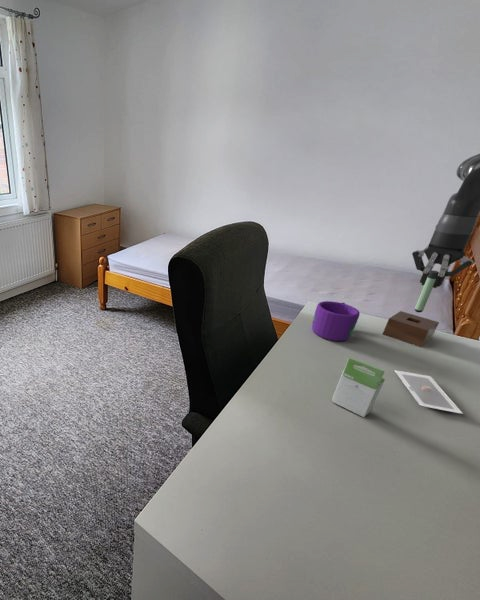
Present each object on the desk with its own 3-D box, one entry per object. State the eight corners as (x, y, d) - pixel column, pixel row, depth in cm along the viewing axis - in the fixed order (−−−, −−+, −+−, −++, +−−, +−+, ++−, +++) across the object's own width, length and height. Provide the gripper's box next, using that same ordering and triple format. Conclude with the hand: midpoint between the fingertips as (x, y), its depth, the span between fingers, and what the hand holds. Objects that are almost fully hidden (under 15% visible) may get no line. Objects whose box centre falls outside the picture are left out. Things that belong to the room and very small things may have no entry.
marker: (415, 309, 110) (431, 269, 103) (423, 312, 108) (440, 271, 102) (412, 311, 109) (428, 271, 102) (420, 314, 107) (437, 273, 101)
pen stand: (394, 326, 118) (400, 310, 116) (431, 338, 111) (439, 322, 108) (382, 334, 114) (388, 318, 111) (420, 347, 106) (428, 330, 103)
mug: (346, 347, 106) (356, 319, 102) (305, 334, 114) (313, 308, 110) (357, 328, 117) (366, 302, 113) (319, 317, 125) (326, 292, 121)
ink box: (370, 411, 81) (391, 365, 76) (364, 418, 79) (384, 371, 74) (337, 395, 86) (354, 351, 81) (330, 401, 84) (347, 357, 79)
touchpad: (428, 379, 92) (432, 372, 91) (461, 417, 79) (465, 410, 78) (392, 373, 94) (395, 366, 93) (418, 409, 82) (422, 402, 81)
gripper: (492, 232, 94) (464, 290, 101) (426, 224, 105) (405, 277, 112) (485, 236, 90) (456, 296, 97) (417, 227, 101) (396, 281, 108)
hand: (429, 285), depth 105 cm, fingers closed on marker, 2 cm apart
